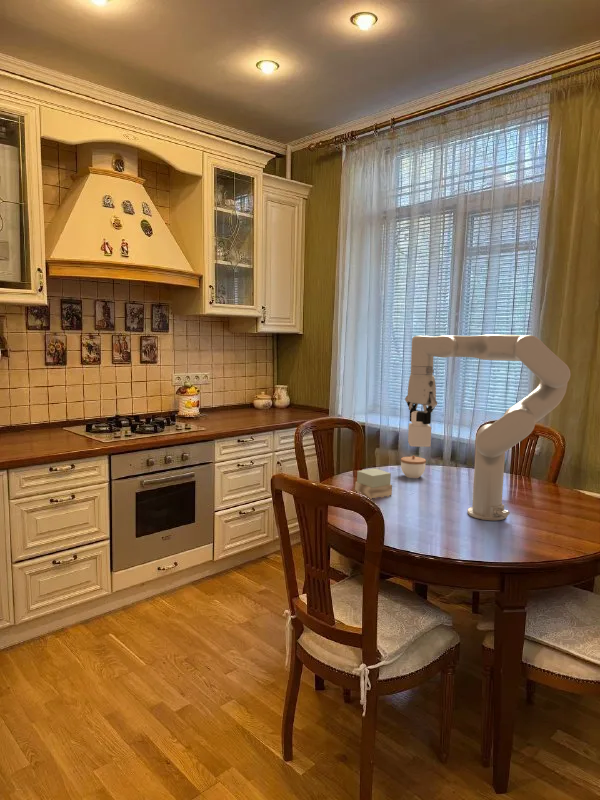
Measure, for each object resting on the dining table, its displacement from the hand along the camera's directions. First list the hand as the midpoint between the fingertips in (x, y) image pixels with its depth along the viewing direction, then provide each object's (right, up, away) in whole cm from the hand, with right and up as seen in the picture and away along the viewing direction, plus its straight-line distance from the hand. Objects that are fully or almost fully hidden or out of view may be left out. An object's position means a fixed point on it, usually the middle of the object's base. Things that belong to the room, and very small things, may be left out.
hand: (419, 422), depth 195 cm
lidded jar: (+7, -26, +47) cm, 54 cm away
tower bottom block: (-14, -29, +19) cm, 37 cm away
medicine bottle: (0, -8, +1) cm, 8 cm away
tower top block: (-14, -24, +19) cm, 34 cm away
